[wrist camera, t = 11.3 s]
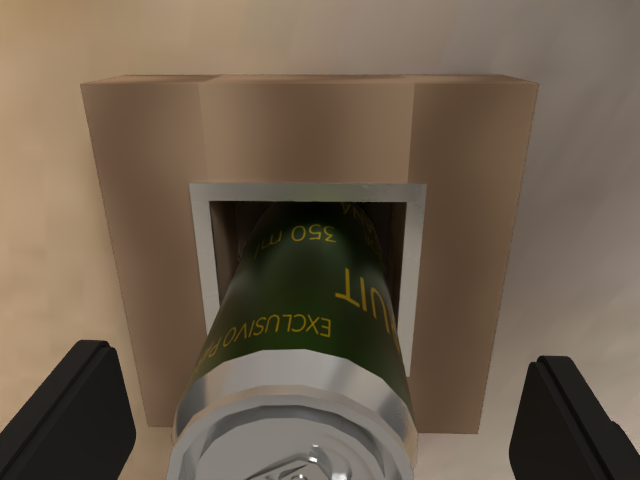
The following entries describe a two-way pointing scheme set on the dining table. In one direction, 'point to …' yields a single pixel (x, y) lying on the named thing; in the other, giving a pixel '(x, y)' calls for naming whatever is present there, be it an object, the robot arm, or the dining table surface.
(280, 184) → the jig bore mouth
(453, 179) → the block
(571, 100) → the dining table surface
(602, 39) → the dining table surface
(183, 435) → the beer can
